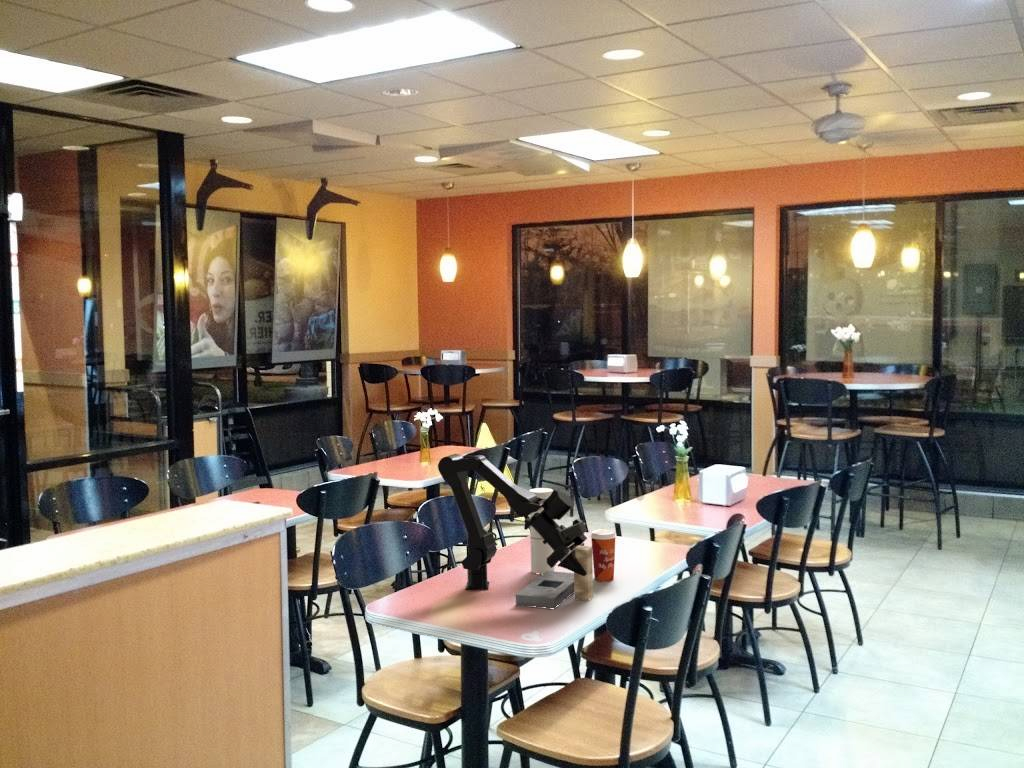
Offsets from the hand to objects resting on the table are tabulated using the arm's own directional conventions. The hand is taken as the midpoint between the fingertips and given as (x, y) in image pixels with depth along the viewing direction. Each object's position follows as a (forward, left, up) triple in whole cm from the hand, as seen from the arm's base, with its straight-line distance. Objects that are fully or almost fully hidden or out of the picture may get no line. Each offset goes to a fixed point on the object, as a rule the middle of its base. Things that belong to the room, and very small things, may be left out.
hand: (588, 572), depth 251 cm
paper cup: (-19, +6, -7) cm, 21 cm away
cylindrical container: (-28, -12, -7) cm, 31 cm away
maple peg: (-1, -1, -7) cm, 7 cm away
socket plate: (-4, -10, -7) cm, 13 cm away
